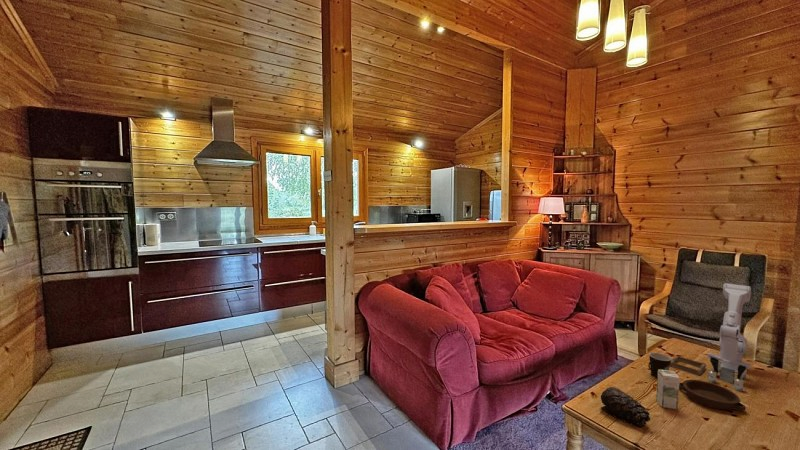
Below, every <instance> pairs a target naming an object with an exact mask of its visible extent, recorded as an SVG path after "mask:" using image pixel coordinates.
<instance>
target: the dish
mask: <svg viewBox="0 0 800 450" xmlns="http://www.w3.org/2000/svg"><path fill="white" fill-rule="evenodd" d="M679 390H681V391H683V392H685V393H686V394H687V395H688V397H689V398H690V399H692V400H693V401H695V402H697V403H698V404H701V405H704V406H706V407H710V408H713V409H719V410H730V409H733V410H738V411H740V412H741V411H743V412H744V411H746V409H747V406H746V405H744V404H743V403H741V398H740V397H739V396H738V395H737V394H736V393H735V392H733V391H732V390H730V389H728V388H726V387H724V386H721V385H719V384H717V383H711V382H709V381H704V380H699V379H687V380H683V381H682V382H679Z"/></svg>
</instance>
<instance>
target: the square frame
mask: <svg viewBox="0 0 800 450" xmlns="http://www.w3.org/2000/svg"><path fill="white" fill-rule="evenodd" d="M678 362H680V363H678ZM681 363H684V364H687V365H691V366H693V367H697V368H698V369H696V368H693V367H690V366H686V365H684V364H681ZM706 366H707V364H706V363H704V362H700V361H697V360H694V359H693V360H692V359H690V358H686V357H683V356H679V355H675V356H674V357H673V358H671V362H670V367H671V368H673V369H676V370H680V371H683V372H686V373H689V374H692V375H695V376H701V375H702V373H703V372H704V371H705V370H706ZM670 367H669V368H670Z"/></svg>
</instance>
